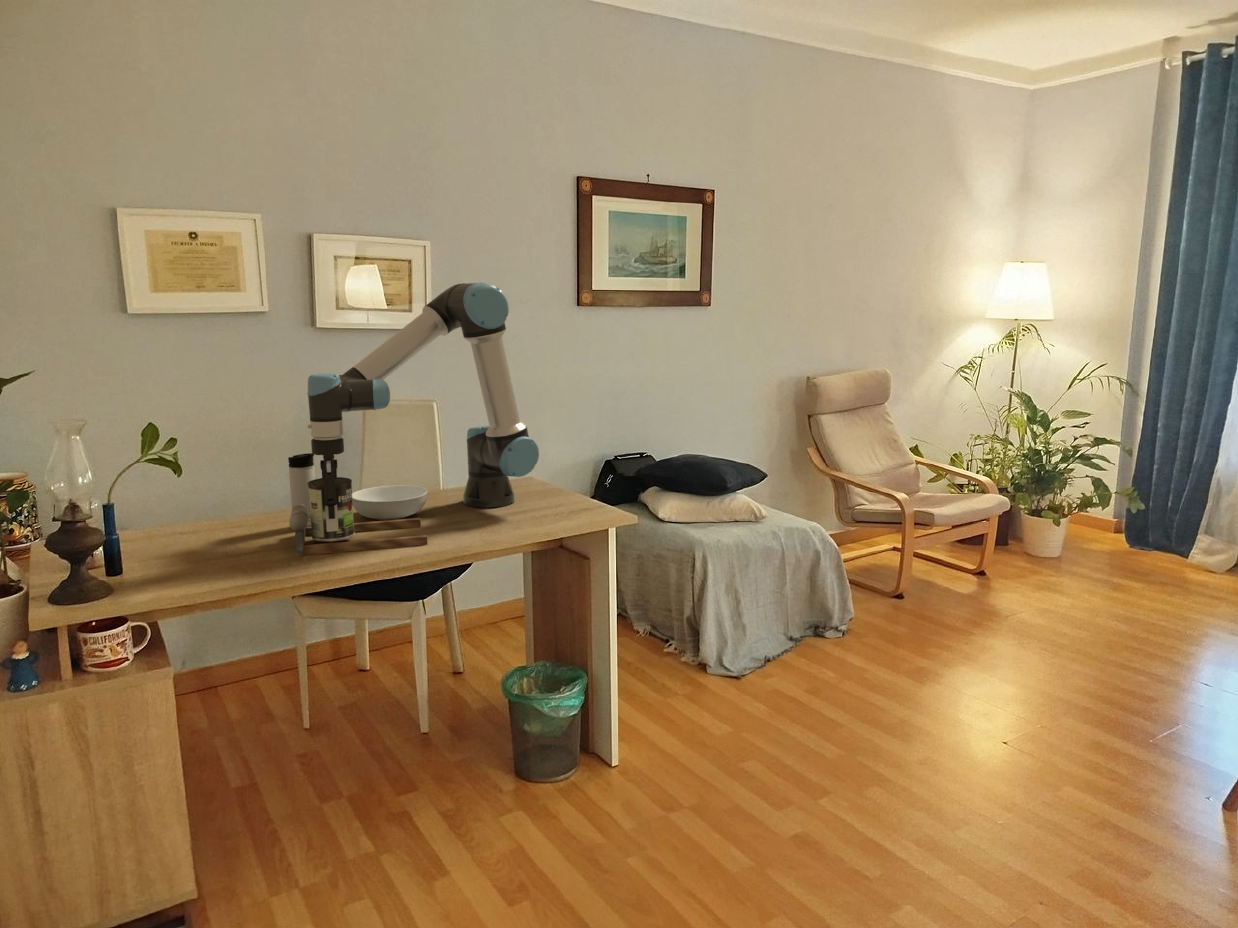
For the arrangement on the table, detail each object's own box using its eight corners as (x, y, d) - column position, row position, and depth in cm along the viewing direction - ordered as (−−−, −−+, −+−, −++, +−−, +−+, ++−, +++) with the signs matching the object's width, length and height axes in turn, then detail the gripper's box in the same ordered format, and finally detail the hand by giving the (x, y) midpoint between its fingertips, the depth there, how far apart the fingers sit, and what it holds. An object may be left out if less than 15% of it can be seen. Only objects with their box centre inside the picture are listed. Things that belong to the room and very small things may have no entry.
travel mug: (311, 530, 223) (305, 455, 219) (288, 529, 225) (282, 454, 221) (324, 524, 229) (319, 451, 226) (301, 523, 231) (296, 450, 227)
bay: (420, 525, 229) (418, 492, 227) (427, 544, 211) (425, 509, 209) (294, 535, 219) (291, 501, 217) (290, 556, 201) (287, 519, 200)
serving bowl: (426, 505, 251) (425, 482, 250) (430, 523, 231) (429, 498, 230) (352, 510, 246) (351, 486, 244) (350, 528, 226) (349, 503, 224)
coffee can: (362, 531, 217) (359, 477, 214) (342, 542, 207) (338, 486, 204) (324, 529, 219) (321, 476, 216) (303, 540, 209) (299, 484, 206)
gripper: (312, 431, 218) (317, 515, 222) (309, 445, 196) (315, 538, 201) (342, 430, 220) (347, 513, 224) (343, 444, 199) (349, 536, 203)
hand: (332, 525), depth 212 cm, fingers closed on coffee can, 10 cm apart
